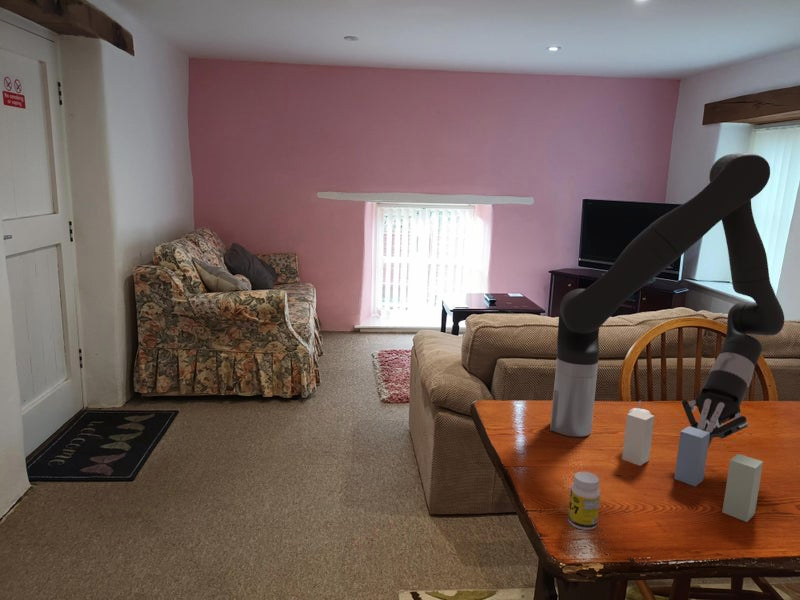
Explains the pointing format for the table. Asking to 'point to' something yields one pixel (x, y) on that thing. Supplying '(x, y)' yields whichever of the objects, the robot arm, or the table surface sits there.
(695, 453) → the slate blue block
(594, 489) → the supplement bottle
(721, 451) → the table surface
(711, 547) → the table surface
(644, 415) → the cream block
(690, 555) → the table surface
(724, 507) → the sage block
